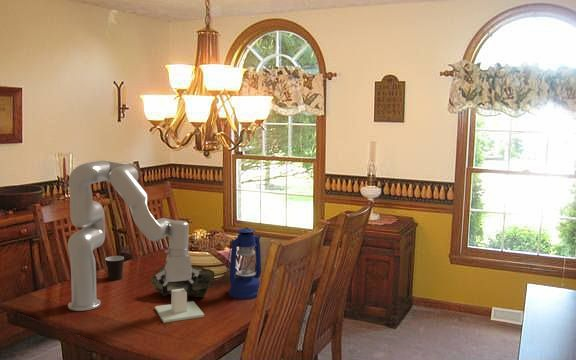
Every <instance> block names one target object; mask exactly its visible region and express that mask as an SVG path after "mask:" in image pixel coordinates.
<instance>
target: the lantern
mask: <svg viewBox="0 0 576 360" xmlns="http://www.w3.org/2000/svg"><path fill="white" fill-rule="evenodd" d="M236 231H237V232H238V235H237V238H235V239H234V240H233V239H232V240H231V242H230V249H229V252H228V258H227V263H226V266H228V265H229V260H230V265H229V267H230V268H229V267H226V269H227V270H226V271H227V272H228V273H229V282H230V288H229V289H228V295H229V297H231V298H234V299H238V300H239V299H240V300H251V299H256V297H257V293H258V288H259V284H260V285H261V281H260V279H259V278H261V275H262V262H261V261H262V260H261V257H262V256H261V243H260V239H261V235H255V234H254V233H255V232H256V230H255V229H253V228H250V227H244V228H239V229H237V230H236ZM237 249H238V250H237ZM250 256H251V258H250ZM254 256H255V263H254V266H253V267H252V268H251V269H248V267H249V265H250V264H251V262H252V261H253V257H254ZM239 257H246V258H247V257H248V259H249V260H250V261H247V262H245V264H247V263H248V264H247V266H246V267H244V268H241V269H239V270H238V269H237V268H238V266H237V267H236V261H237V258H239ZM228 268H229V269H228ZM253 269H254V270H253ZM257 298H258V297H257Z"/></svg>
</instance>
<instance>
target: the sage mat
mask: <svg viewBox="0 0 576 360" xmlns="http://www.w3.org/2000/svg"><path fill="white" fill-rule="evenodd" d="M154 309H155V311H156V313H157V314H158V316H159V318H160V320H161V321H162V322H163V323H164V324H165V323H171V322H177V321H184V320H185V321H186V320H191V319H199V318H205V313H204V312H203V311H202V310H201V309H200V307H199V306H198V305H197V304H196V302H195V301H193V300H192V301H187V312H180V313H174V312H173V311H172V309H171V304H169V303H168V304H163V305H156V306H155V307H154Z"/></svg>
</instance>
